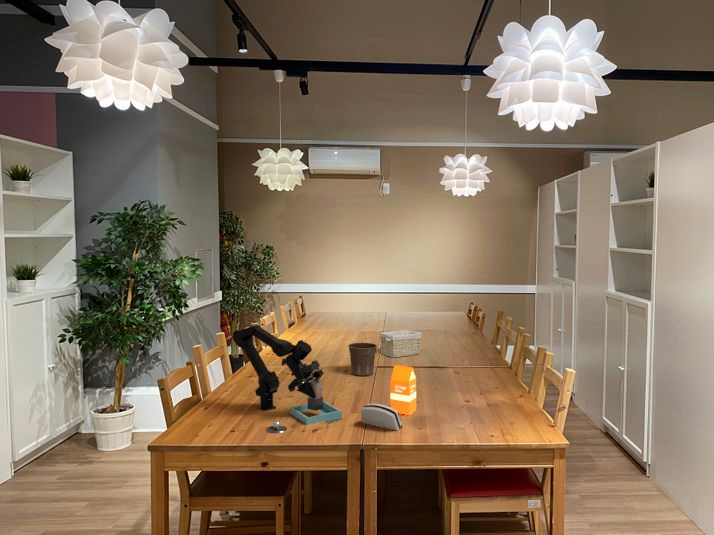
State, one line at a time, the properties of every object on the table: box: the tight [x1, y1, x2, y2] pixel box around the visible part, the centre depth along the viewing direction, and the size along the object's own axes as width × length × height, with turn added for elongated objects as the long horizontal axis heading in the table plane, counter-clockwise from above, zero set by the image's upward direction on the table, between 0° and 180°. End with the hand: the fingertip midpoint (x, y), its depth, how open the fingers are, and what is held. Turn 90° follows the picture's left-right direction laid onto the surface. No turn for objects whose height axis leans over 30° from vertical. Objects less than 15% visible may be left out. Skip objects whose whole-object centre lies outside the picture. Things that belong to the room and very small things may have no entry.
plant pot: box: [347, 342, 378, 377], centre depth 276 cm, size 16×16×16 cm
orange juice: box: [390, 364, 417, 416], centre depth 214 cm, size 8×9×20 cm
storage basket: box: [379, 329, 423, 359], centre depth 324 cm, size 24×16×15 cm
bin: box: [289, 400, 343, 426], centre depth 206 cm, size 16×16×4 cm
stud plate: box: [265, 420, 288, 434], centre depth 190 cm, size 8×8×5 cm
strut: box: [307, 380, 324, 412], centre depth 206 cm, size 5×5×11 cm
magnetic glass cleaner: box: [360, 403, 404, 431], centre depth 197 cm, size 17×5×10 cm, turn 58°
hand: (317, 396), depth 205 cm, fingers closed on strut, 4 cm apart
